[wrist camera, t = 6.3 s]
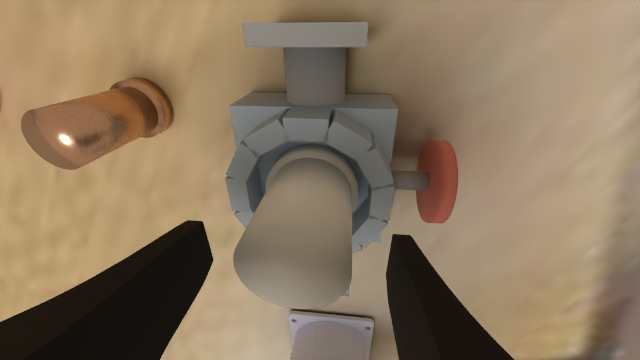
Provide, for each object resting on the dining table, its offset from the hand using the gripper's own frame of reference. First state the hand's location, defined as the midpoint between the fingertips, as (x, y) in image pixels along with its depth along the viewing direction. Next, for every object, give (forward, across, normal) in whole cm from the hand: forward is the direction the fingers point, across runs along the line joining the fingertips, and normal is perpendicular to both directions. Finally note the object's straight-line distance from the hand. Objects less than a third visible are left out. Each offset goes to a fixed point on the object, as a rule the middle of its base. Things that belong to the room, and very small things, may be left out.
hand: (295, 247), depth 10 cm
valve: (+8, -1, 0) cm, 8 cm away
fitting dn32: (+8, +11, -3) cm, 14 cm away
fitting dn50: (+5, 0, 0) cm, 5 cm away
